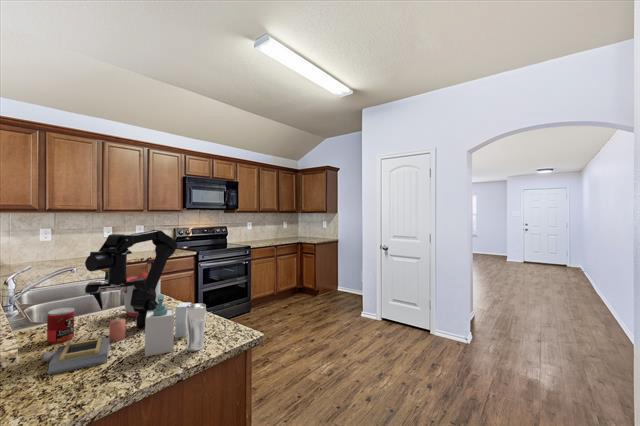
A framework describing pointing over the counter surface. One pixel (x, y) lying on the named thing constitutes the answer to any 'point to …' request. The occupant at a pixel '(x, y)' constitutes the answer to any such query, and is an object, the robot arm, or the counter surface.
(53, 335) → the canned food
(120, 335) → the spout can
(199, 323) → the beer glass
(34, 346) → the counter surface
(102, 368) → the counter surface
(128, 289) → the citrus juicer
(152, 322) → the soap bottle
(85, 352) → the grey and gold frame
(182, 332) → the skincare box
